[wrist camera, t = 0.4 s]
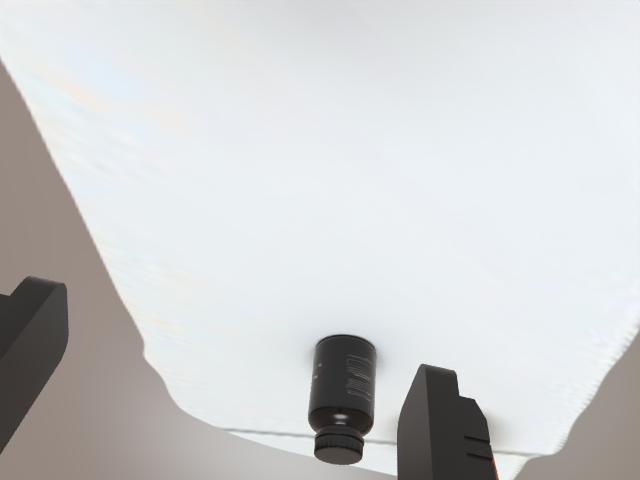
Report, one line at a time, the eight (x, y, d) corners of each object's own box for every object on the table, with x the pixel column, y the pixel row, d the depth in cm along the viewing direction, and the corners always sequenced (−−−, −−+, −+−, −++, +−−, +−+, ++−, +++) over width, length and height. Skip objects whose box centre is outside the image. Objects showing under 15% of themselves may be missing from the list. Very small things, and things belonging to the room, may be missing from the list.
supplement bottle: (304, 338, 66) (291, 445, 58) (362, 329, 64) (357, 439, 56) (330, 368, 71) (321, 471, 63) (385, 360, 68) (383, 466, 60)
